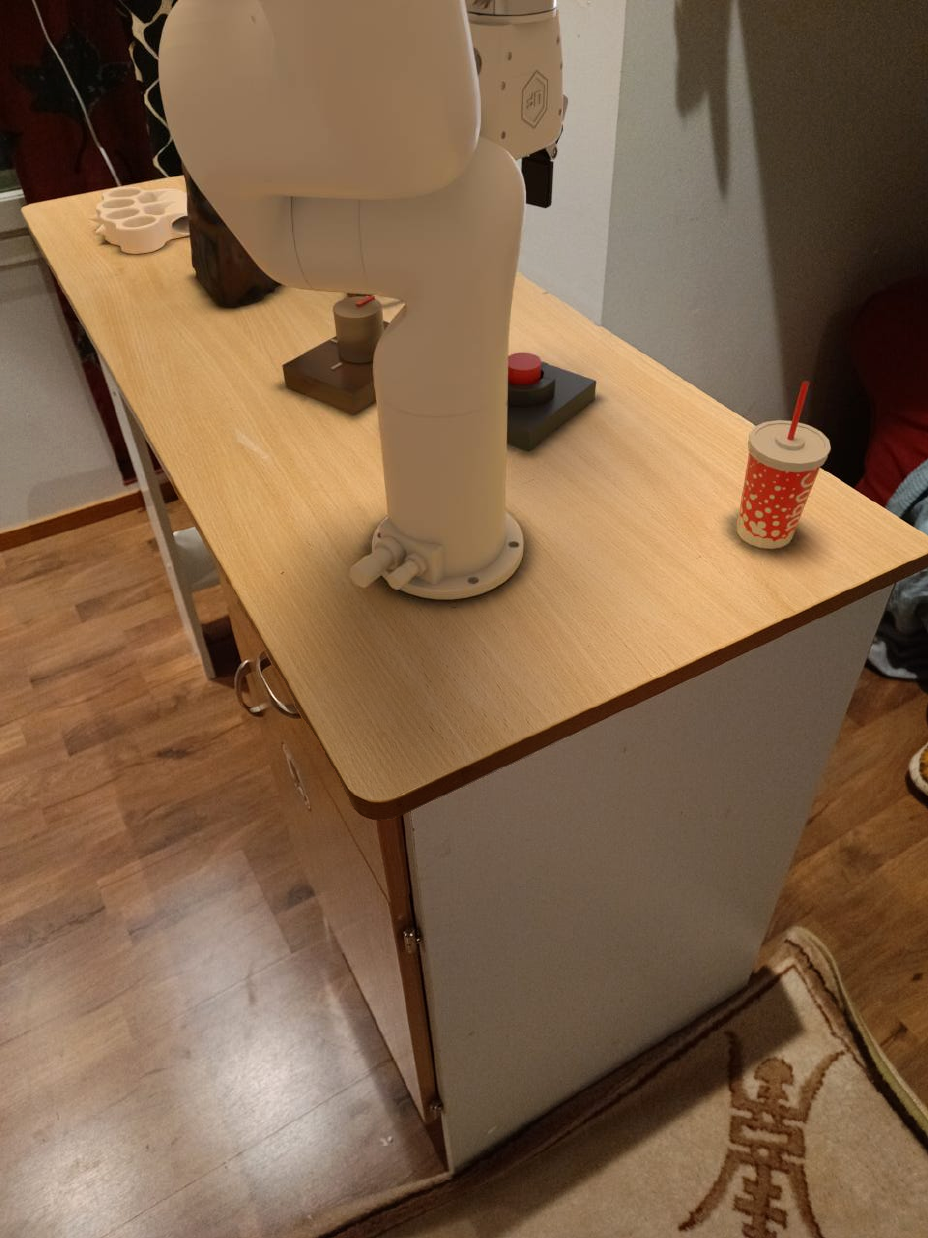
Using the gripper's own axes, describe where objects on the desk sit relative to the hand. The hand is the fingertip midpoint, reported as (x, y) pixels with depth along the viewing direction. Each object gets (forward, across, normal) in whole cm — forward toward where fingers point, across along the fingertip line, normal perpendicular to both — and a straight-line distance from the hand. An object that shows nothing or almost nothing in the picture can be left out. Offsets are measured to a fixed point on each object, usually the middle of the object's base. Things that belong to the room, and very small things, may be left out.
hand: (505, 219), depth 80 cm
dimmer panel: (+17, -6, +14) cm, 23 cm away
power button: (+14, -2, -4) cm, 14 cm away
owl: (+17, +2, +43) cm, 46 cm away
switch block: (+17, -2, -4) cm, 18 cm away
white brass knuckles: (+17, +6, +68) cm, 71 cm away
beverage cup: (+18, -6, -32) cm, 37 cm away
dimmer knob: (+15, -6, +14) cm, 21 cm away
